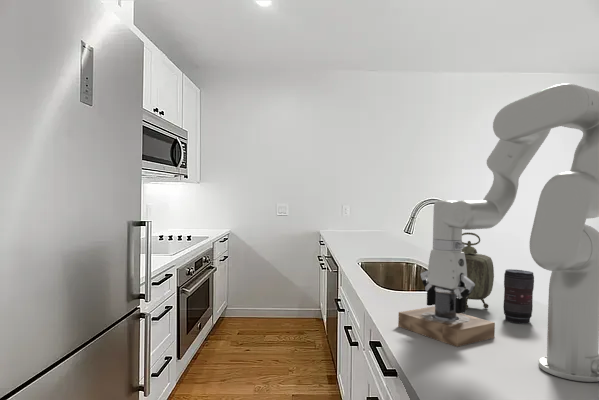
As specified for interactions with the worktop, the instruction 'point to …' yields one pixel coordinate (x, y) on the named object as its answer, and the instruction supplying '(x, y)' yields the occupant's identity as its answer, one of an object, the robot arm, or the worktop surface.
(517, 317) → the camera lens
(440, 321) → the mount board
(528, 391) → the worktop surface
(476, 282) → the tabletop clock
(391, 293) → the worktop surface
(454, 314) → the shiny metal canister
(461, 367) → the worktop surface
